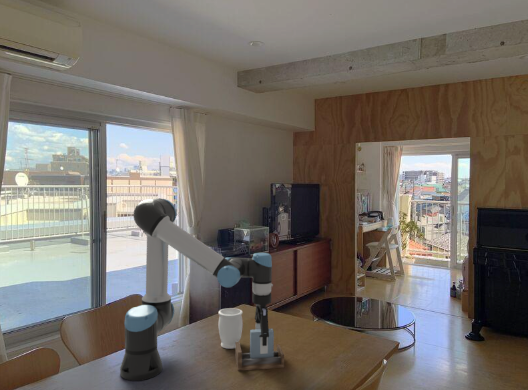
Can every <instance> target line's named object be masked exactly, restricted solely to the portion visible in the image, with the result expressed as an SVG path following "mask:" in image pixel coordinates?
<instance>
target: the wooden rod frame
mask: <svg viewBox="0 0 528 390" xmlns="http://www.w3.org/2000/svg"><path fill="white" fill-rule="evenodd" d="M239 342H240V341H239ZM239 342H236V347H235V348H234V350H235V356H234V357H235V363H236V368H237V371H238V372H239V371H240V372H241V371H250V370H251V371H253V370H266V369H267V370H268V369H278V368H279V369H280V368H285V353H284V351H283V348H281V347H282V346H281V345H280V344H279V343H278V344H276V350H274V357H267V358H252V359H250V352H244V353H243V352H242V348H241V343H239Z"/></svg>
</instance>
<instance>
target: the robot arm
mask: <svg viewBox="0 0 528 390" xmlns="http://www.w3.org/2000/svg"><path fill="white" fill-rule="evenodd" d="M176 219H177V209H176V206H175V204H174V203H173V202H172V201H170V200H168V199H166V198H152V199H144V200H142V201H140V202H139V203H138V204H137V205H136V206H135V208H134V210H133V220H134V222H135V223H134V224H135V225H137V227H138V228H139V229H141V230H142V232H143V234H144V235H145V236H146V264H145V266H146V268H145V269H146V272H145V273H146V275H145V294H144V295H143V296H142V297H141V305H137V306H135V307H131V308H130V309H128V311H126V314H125V316H124V355H123V358H122V362H121V364H120V367H119V369H120V370H119V375H120V377H121V378H122V379H124V380H127V381H132V382H133V381H145V380H149V379H152V378H155V377H156V376H158V375H160V373H161V372H162V370H163V361H162V358H161V356H160V352H159V350H158V334H159V333H161V332H162V331H163V330H164V329H165V328H167V327H168V325H170V323H171V322H172V320H173V319H174V317H175V316H174V315H175V306H174V304H173V303H172V296H171V295H170V294H169V293H168V286H169V285H168V283H169V281H168V274H169V272H168V271H169V247H171V248H173V249H174V250H175V251H177V252H178V253H180V254H182V255H183V256H184V257H186V258H187V259H189V260H190V261H192V262H193V263H194V264H196V265H197V266H199V267H200V268H202V269H203V270H205V271H206V272H208V274H211V275H212V276H213V277H215V278H216V279H217V282H218V283H219V284H220V285H221V287H224V288H233V286H235V285H236V284H238V283H239V281H240V280H241V278H252V283H251V284H252V286H251V287H252V289H251V290H252V295H251V296H252V298H251V299H252V301H251V302H252V304H254V305H255V315H254V320H255V329H261V335H260V336H259V337H261V339H260V354H266V353H268V337H269V329H270V328H269V315H268V314H269V310H268V307H267V305H270V304H271V303H272V287H273V286H274V284H273V283H272V281H273V280H272V277H273V275H272V274H273V271H272V270H273V265H272V264H273V263H272V260H273V259H272V258H273V257H272V255H271V254H270V253H268V252H255V253H253V255H252V257H248V258H247V257H235V256H230V257H224V256H223V255H221V254H220V253H218V252H216V251H215V250H214V249H212V248H211V247H210V246H208V245H207V244H205V243H203V241H201V240H199V239H198V238H197V237H195V236H194V235H192V234H190V233H189V232H188V231H186V230H185V229H183V228H181V227H180V226H179V225H177V224H175V223H174V222H175V220H176ZM264 333H266V334H264Z"/></svg>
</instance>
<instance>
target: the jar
mask: <svg viewBox="0 0 528 390" xmlns="http://www.w3.org/2000/svg"><path fill="white" fill-rule="evenodd" d="M242 315H243V310H242V309H239V308H234V307H229V308H226V307H225V308H222V309H219V310H218V316H219V317H218V333H219V339H220V341H221V343H220V346H221V347H222V348H224V349H227V350H228V349H231V350H232V349H235V347H236V342H239V343H240V341H241V338H242V331H243V317H242ZM240 344H241V343H240Z"/></svg>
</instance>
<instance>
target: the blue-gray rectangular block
mask: <svg viewBox="0 0 528 390" xmlns="http://www.w3.org/2000/svg"><path fill="white" fill-rule="evenodd" d="M264 334H266V333H264ZM274 334H275V333H274V329H273V328H269V337H268V353H266V354H260V339H261V337H259V336H260V335H261V329H256V328H255V329H249V353H250V359H252V358H267V357H274V351H275V350H274V349H275V348H274V345H275V343H274V342H275V341H274V339H275V335H274Z"/></svg>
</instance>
